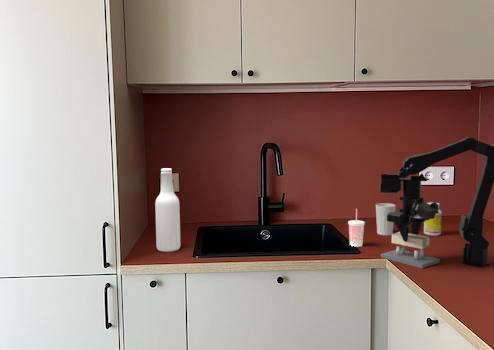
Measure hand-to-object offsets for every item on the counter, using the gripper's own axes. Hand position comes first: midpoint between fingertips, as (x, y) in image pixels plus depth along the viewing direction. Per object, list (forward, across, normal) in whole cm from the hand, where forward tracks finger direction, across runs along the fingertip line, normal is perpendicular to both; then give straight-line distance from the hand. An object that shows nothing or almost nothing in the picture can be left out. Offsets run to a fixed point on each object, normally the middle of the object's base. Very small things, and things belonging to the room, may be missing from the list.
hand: (410, 240), depth 164 cm
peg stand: (+7, 0, 0) cm, 7 cm away
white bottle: (+7, -57, +64) cm, 86 cm away
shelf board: (+2, 0, 0) cm, 2 cm away
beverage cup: (+7, +1, +24) cm, 25 cm away
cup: (+7, +25, +29) cm, 39 cm away
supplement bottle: (+7, +39, +16) cm, 43 cm away
